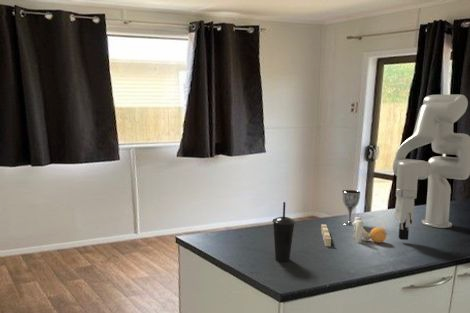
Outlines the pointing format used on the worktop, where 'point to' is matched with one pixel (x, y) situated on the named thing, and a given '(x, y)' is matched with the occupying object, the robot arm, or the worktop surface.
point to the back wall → (326, 235)
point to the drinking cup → (283, 236)
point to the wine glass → (350, 202)
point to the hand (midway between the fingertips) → (403, 238)
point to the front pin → (363, 232)
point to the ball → (377, 234)
